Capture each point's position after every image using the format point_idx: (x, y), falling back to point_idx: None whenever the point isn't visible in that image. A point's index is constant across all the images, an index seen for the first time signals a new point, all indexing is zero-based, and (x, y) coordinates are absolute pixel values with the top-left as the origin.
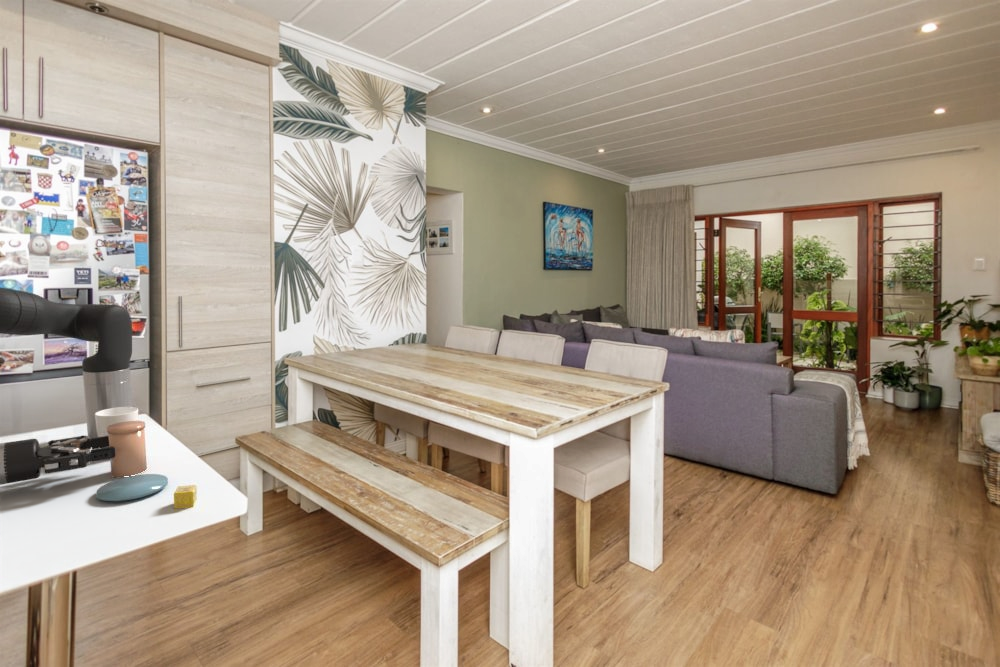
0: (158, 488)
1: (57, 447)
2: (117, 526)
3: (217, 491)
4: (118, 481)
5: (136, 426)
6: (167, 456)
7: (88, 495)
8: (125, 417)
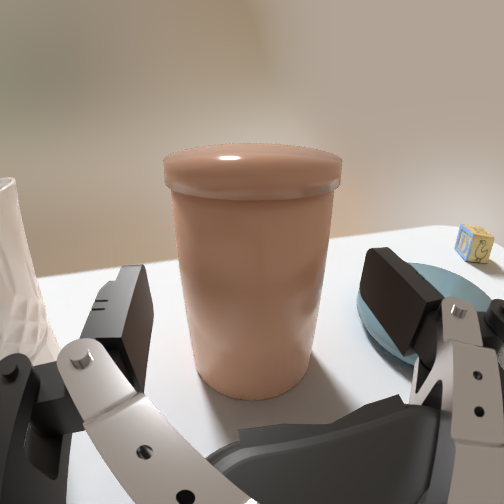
0: (444, 271)
1: (496, 464)
2: None
3: (424, 234)
4: None
5: (297, 147)
6: (154, 285)
7: None
8: (15, 199)
